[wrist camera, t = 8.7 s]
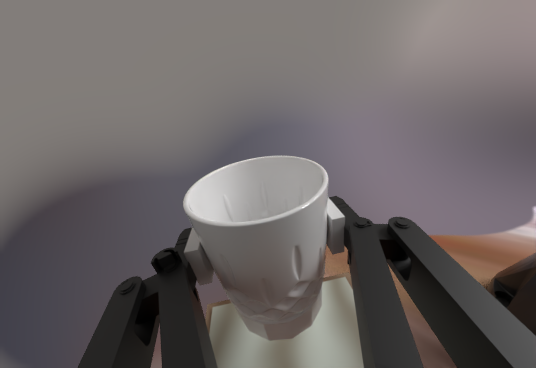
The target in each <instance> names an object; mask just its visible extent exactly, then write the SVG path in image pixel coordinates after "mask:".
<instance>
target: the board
mask: <svg viewBox="0 0 536 368" xmlns="http://www.w3.org/2000/svg"><path fill="white" fill-rule="evenodd" d="M205 321H206V325H207V329H208V333H209V337H210V340H211V344H212V348H213V352H214V355H215V359H216V363H217V367H218V368H364V365H363V358H362V351H361V344H360V337H359V330H358V323H357V316H356V309H355V302H354V295H353V288H352V281H351V276H350V274H349V272H348V273H343V274H339V275H335V276H330V277H326V278H323V284H322V306H321V308H320V310H319V312H318V314H317V316H316V318H315V320H314V322H313V324H312V326H310V327H309V328H308V329H306V330H305V331H303V332H302V333H300V334H299V335H297V336H296V337H294V338H293V339H284V340H272V341H269V340H267V339H265V338H262V337H260V336H258V335H256V334H254V333H252V332H250V331H249V330H248V329H247V327H246V325H245V324H244V322H243V321H242V319H241V318H240V316H239V315H238V313H237V311H236V309H235V307H234V305H233V303H231V301H230V300H225V301H221V302H217V303H212V304H208V306H207V312H206V319H205Z"/></svg>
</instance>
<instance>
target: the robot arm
mask: <svg viewBox="0 0 536 368" xmlns="http://www.w3.org/2000/svg"><path fill="white" fill-rule="evenodd" d="M326 244H327V246H328V247H329V249H330V251H331V252H332V254H337V253H341V252H344V245H345V246H346V248H347V249H348V264H349V267H350V274H351V281H352V288H353V295H354V302H355V309H356V316H357V323H358V330H359V337H360V344H361V351H362V358H363V365H364V368H424V367H423V364H422V362H421V359H420V356H419V353H418V350H417V347H416V344H415V341H414V339H413V336H412V333H411V330H410V327H409V324H408V321H407V319H406V316H405V313H404V310H403V307H402V304H401V301H400V298H399V296H398V293H397V290H396V287H395V284H394V281H393V278H392V276H391V273H390V270H389V267H388V265H389V266H390V268H391V269H392V271H393V272H394V274H395V275H396V277H397V278H398V280H399V281H400V283H401V284H402V286H403V287H404V289H405V290H406V291H407V293H408V294H409V296H410V297H411V299H412V300H413V302H414V303H415V305H416V306H417V308H418V309H419V311H420V312H421V314H422V315H423V317H424V318H425V320H426V321H427V323H428V324H429V326H430V327H431V329H432V330H433V332H434V333H435V335H436V336H437V338H438V339H439V341H440V342H441V344H442V345H443V347H444V348H445V350H446V351H447V353H448V354H449V356H450V357H451V359H452V360H453V362H454V363H455V365H456V366H457V368H536V253H534V254H532V255H531V256H529V257H527V258H525V259H523V260H521V261H519V262H518V263H516V264H514V265H512V266H510V267H508V268H506V269H504V270H503V271H501V272H499V273H498V274H497V275H495V276H494V277H493V279H492V280H491V282H490V283H489V285H488V287H487V289H485V288H484V287H483V286H482V285H481V284H480V283H479V282H477V281H476V280H475V279H474V278H473V277H472V276H471V275H470V274H469V273H468V272H467V271H466V270H465V269H464V268H462V267H461V266H460V265H459V264H458V263H457V262H456V261H455V260H454V259H453V258H452V257H451V256H450V255H449V254H447V253H446V252H445V251H444V250H443V249H442V248H441V247H440V246H439V245H438V244H437V243H436V242H435V241H434V240H432V239H431V238H430V237H429V236H428V235H427V234H426V233H425V232H424V231H423V230H422V229H421V228H420V227H419V226H417V225H416V224H415V223H414V222H412V221H411V220H409V219H407V218H403V217H393V218H391V219H389V222H388V224H373V223H372V221H370V220H369V219H366V218H362V217H359V216H358V215H357V214H356V213H355V212H354V211H353V210H352V209H351V208H350V207H349V206H348V205H347V204H346V203H345V202H344V200H343V199H341V198H339V197H337V196H334V197H329V198H328V203H327V243H326ZM387 263H388V264H387ZM151 264H152V266H153V267H154V269H155V271H156V272H157V274H156V275H154V276H152V277H150V278H147V279H145V280H143V281H142V279H141V278H140V277H137V276H136V277H131V278H129V279H127V280H126V281H124V282H122V283H121V284H120V285H119V286H118V287H117V288H116V290H115V291H114V293H113V295H112V297H111V299H110V301H109V303H108V305H107V307H106V309H105V311H104V314H103V316H102V318H101V320H100V322H99V324H98V326H97V328H96V330H95V333H94V334H93V336H92V339H91V341H90V343H89V345H88V347H87V349H86V351H85V353H84V355H83V357H82V360H81V362H80V364H79V366H78V368H150V367H151V362H152V357H153V352H154V347H155V342H156V338H157V333H158V328H159V323H160V334H161V354H162V368H218V367H217V363H216V359H215V355H214V352H213V348H212V344H211V340H210V337H209V333H208V329H207V325H206V321H205V318H204V314H203V310H202V306H201V303H200V299H199V295H198V291H197V289H196V287H195V285H196V280H197V281H198V283H199V285H204V284H208V283H212V280H213V272H214V269H213V267H212V265H211V263H210V261H209V259H208V257H207V255H206V253H205V251H204V249H203V247H202V245H201V243H200V241H199V238H198V236H197V234H196V232H195V230H194V228H193V227H192V228H188V229H185V230H184V231H183V232H182V233H181V234H180V236H179V238H178V241H177V243H176V246H175V248H167V249H164V250H162V251H160V252H159V253H157V254H156V255H155V256H154V257H153V259H152V261H151Z"/></svg>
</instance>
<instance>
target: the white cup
mask: <svg viewBox="0 0 536 368" xmlns="http://www.w3.org/2000/svg"><path fill="white" fill-rule="evenodd" d="M327 203H328V175H327V172H326V171H325V169H324V168H323V167H322V166H321V165H319V164H318V163H316V162H314V161H311V160H308V159H305V158H300V157H293V156H268V157H259V158H253V159H248V160H244V161H240V162H237V163H233V164H230V165H227V166H224V167H222V168H220V169H217V170H215V171H213V172H211V173H209V174H208V175H206V176H204V177H203V178H201V179H200V180H198V181H197V182H196V183H195V184H194V185H193V186H192V187H191V188H190V189H189V190H188V191H187V193H186V195H185V197H184V200H183V207H184V210H185V212H186V214H187V216H188V218H189V220H190V222H191V224H192V226H193V228H194V230H195V232H196V234H197V236H198V238H199V241H200V243H201V245H202V247H203V249H204V251H205V253H206V255H207V257H208V259H209V261H210V263H211V265H212V267H213V269H214V271H215V273H216V275H217V277H218V279H219V281H220V283H221V285H222V287H223V289H224V290H225V292H226V294H227V296H228V298H229V300H230V301H231V303H233V305H234V307H235V309H236V311H237V313H238V315H239V316H240V318H241V319H242V321H243V322H244V324H245V325H246V327H247V329H248V330H249V331H250V332H252V333H254V334H256V335H258V336H260V337H262V338H265V339H267V340H269V341H272V340H284V339H293V338H294V337H296V336H297V335H299V334H300V333H302V332H303V331H305V330H306V329H308V328H309V327H310V326H312V324H313V322H314V320H315V318H316V316H317V314H318V312H319V310H320V308H321V306H322V284H323V278H324V274H325V258H326V255H325V254H326V243H327Z"/></svg>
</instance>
